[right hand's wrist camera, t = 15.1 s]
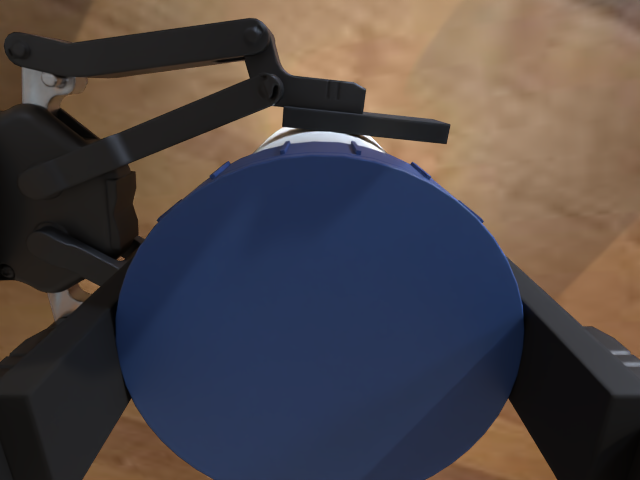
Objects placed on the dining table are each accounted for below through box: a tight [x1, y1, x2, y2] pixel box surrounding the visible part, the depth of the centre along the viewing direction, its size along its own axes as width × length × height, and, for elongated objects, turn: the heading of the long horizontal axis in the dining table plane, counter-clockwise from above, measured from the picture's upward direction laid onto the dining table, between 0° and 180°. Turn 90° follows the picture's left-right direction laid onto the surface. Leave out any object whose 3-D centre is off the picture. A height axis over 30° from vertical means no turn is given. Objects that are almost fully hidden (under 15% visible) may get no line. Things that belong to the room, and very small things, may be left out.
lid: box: [116, 141, 524, 480], centre depth 11 cm, size 10×10×2 cm
